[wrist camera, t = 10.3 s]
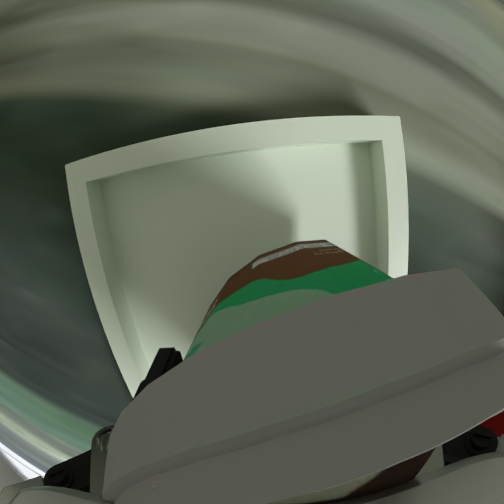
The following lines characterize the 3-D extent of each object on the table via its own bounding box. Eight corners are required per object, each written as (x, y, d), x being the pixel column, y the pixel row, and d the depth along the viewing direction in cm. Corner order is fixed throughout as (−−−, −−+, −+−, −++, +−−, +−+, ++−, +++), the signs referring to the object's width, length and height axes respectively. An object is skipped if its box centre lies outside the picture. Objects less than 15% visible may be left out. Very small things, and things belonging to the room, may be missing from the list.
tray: (379, 122, 12) (399, 116, 10) (372, 415, 16) (381, 435, 15) (87, 164, 12) (64, 164, 10) (171, 437, 17) (165, 458, 15)
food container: (167, 201, 11) (-75, 323, 1) (327, 201, 11) (563, 336, 1) (193, 426, 14) (163, 581, 5) (302, 427, 14) (324, 584, 5)
